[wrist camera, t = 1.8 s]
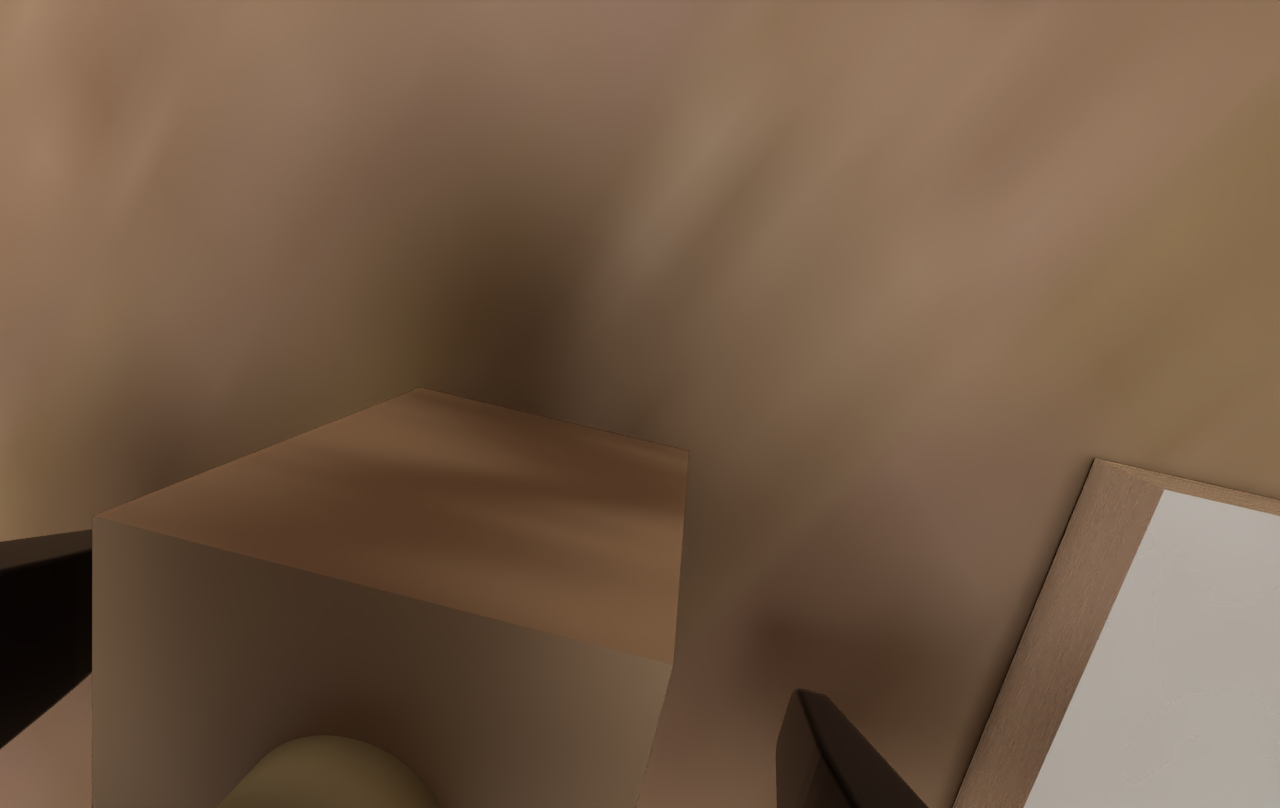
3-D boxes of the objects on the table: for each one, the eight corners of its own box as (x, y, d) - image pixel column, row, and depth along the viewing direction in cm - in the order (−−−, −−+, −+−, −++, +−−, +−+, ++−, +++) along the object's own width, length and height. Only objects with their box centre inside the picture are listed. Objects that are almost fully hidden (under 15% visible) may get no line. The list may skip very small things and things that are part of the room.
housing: (689, 450, 11) (668, 720, 4) (630, 688, 12) (545, 1189, 5) (420, 386, 11) (12, 546, 4) (389, 624, 12) (25, 1029, 6)
